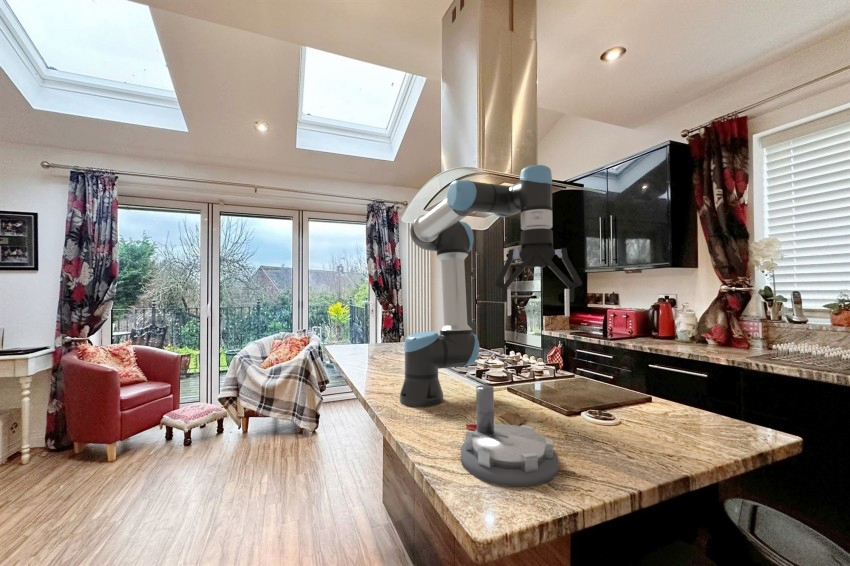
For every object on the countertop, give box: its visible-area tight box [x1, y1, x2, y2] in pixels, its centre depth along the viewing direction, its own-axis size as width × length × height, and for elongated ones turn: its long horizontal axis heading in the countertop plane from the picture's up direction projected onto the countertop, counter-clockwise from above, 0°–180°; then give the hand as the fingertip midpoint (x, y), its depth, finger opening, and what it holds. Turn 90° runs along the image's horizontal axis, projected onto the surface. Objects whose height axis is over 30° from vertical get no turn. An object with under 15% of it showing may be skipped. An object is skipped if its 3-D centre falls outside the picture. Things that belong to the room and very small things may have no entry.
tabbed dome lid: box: [464, 384, 554, 472], centre depth 80 cm, size 18×19×13 cm
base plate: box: [460, 442, 559, 488], centre depth 79 cm, size 21×21×2 cm
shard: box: [496, 411, 527, 426], centre depth 103 cm, size 11×8×2 cm
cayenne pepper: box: [465, 423, 477, 432], centre depth 97 cm, size 12×5×2 cm, turn 32°
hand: (537, 315), depth 88 cm, fingers open, 13 cm apart
